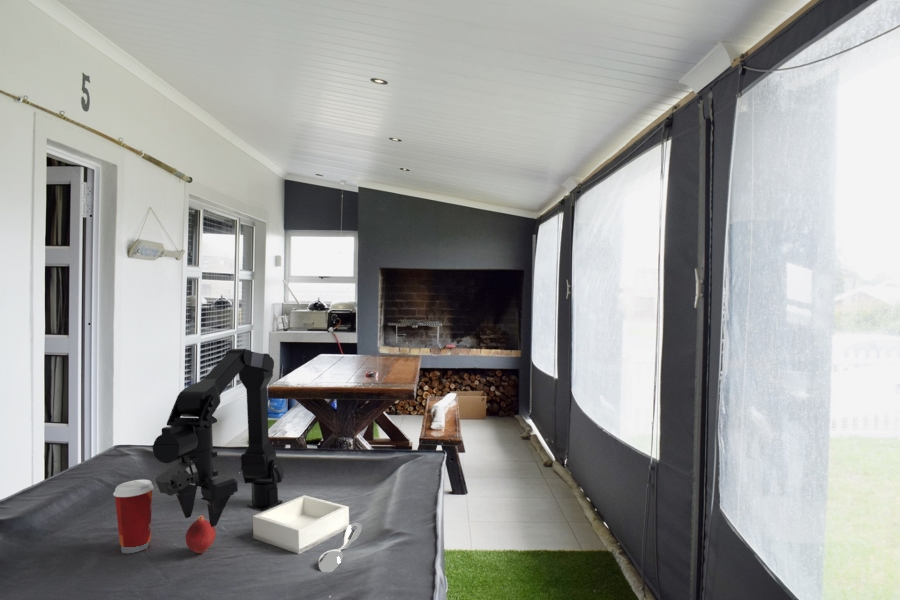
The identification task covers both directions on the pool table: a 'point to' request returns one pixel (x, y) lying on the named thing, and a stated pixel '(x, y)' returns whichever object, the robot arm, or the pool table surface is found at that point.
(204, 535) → the onion
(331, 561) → the silver metal spoon
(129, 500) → the paper cup
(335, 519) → the bin
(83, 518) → the pool table surface
